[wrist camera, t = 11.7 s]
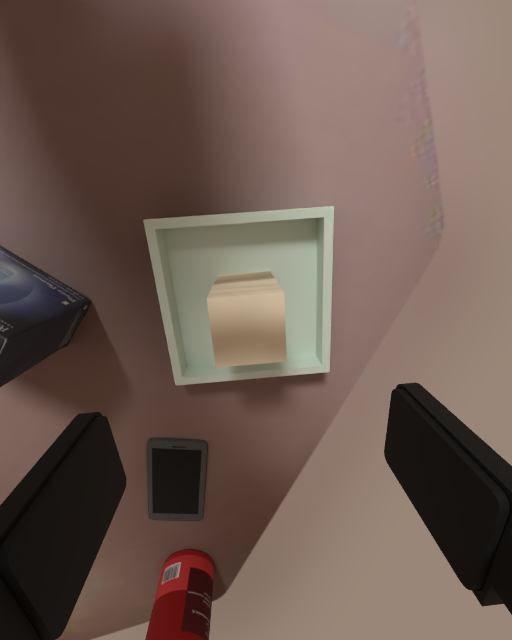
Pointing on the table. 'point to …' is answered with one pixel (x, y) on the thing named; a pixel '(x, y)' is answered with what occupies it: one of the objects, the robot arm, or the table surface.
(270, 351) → the block
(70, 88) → the table surface
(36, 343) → the small box
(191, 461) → the cell phone
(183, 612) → the canned food
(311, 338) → the tray
